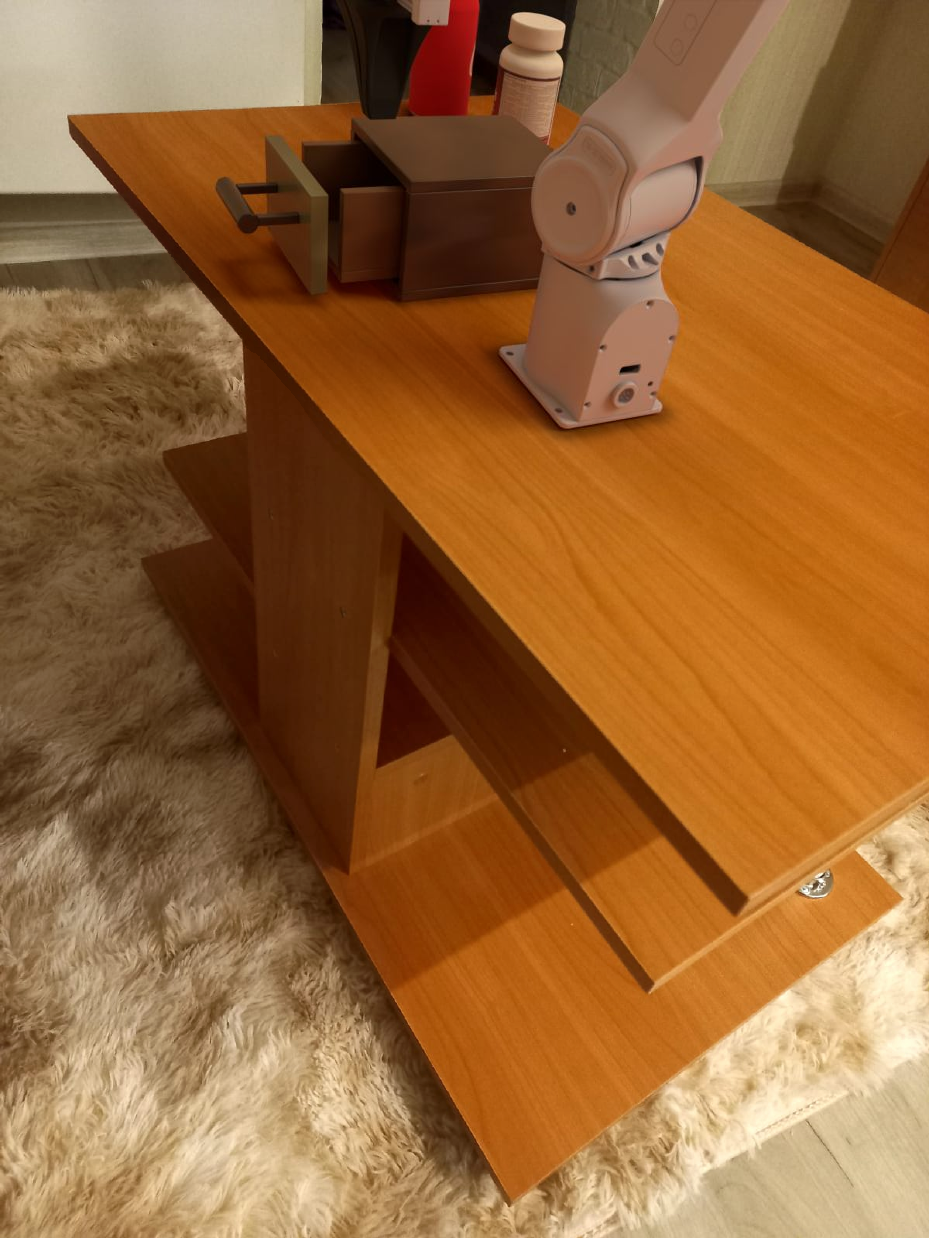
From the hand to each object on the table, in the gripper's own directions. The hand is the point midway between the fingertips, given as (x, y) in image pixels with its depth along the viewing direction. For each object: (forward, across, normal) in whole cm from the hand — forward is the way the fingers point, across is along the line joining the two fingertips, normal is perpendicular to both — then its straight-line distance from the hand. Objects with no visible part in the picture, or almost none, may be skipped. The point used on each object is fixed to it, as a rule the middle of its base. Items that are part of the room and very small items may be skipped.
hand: (379, 116), depth 61 cm
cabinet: (+10, +1, +7) cm, 12 cm away
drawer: (+10, +1, -3) cm, 10 cm away
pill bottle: (+10, -20, +24) cm, 33 cm away
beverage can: (+10, -29, +19) cm, 36 cm away
